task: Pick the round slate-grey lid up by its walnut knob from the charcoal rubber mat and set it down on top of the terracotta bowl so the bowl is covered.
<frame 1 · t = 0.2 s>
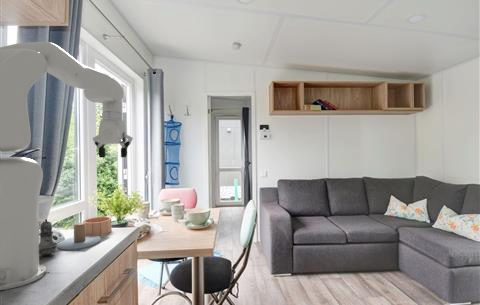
hand: (112, 157, 113), 31 cm above the worktop, tool pointing down, fingers open, 9 cm apart
mat: (79, 244, 94), on the worktop
grey stone tower figurine: (46, 257, 83), on the worktop
bowl: (97, 233, 107), on the worktop
lid: (79, 243, 94), resting on mat
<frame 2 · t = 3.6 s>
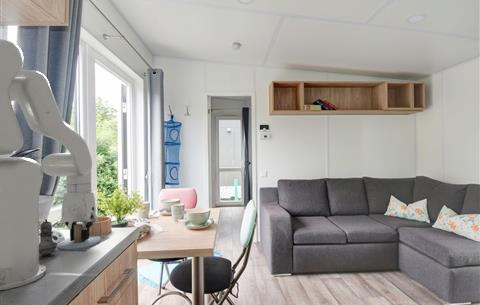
hand: (79, 239, 94), 2 cm above the worktop, tool pointing down, fingers closed on lid, 3 cm apart
lid: (79, 243, 94), resting on mat, touching gripper
everything else where it was.
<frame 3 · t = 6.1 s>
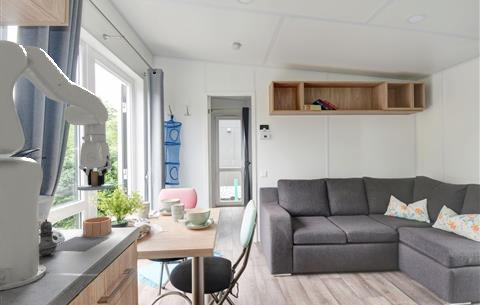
hand: (96, 184, 106), 20 cm above the worktop, tool pointing down, fingers closed on lid, 3 cm apart
lid: (96, 187, 106), point 18 cm above the worktop, touching gripper
everything else where it was.
when the fingers open (8 cm above the worktop, at t = 8.5 s): lid drops 2 cm, resting on bowl.
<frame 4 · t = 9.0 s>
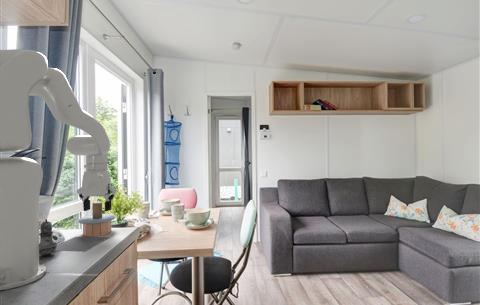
hand: (97, 210, 107), 9 cm above the worktop, tool pointing down, fingers open, 8 cm apart
lid: (97, 219, 107), point 5 cm above the worktop, touching bowl
everything else where it was.
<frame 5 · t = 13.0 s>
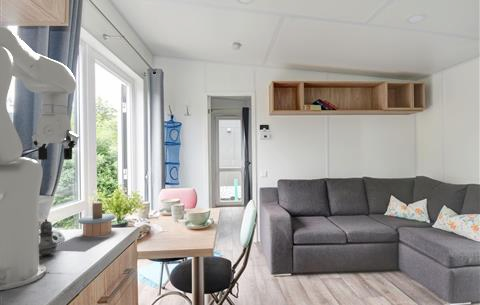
hand: (55, 159, 95), 30 cm above the worktop, tool pointing down, fingers open, 9 cm apart
nothing on the worktop moved.
at the end: lid 0.0 cm off-centre on the bowl, point 5.5 cm above the bowl's base; lid tilted 0°; the gripper is holding nothing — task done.
